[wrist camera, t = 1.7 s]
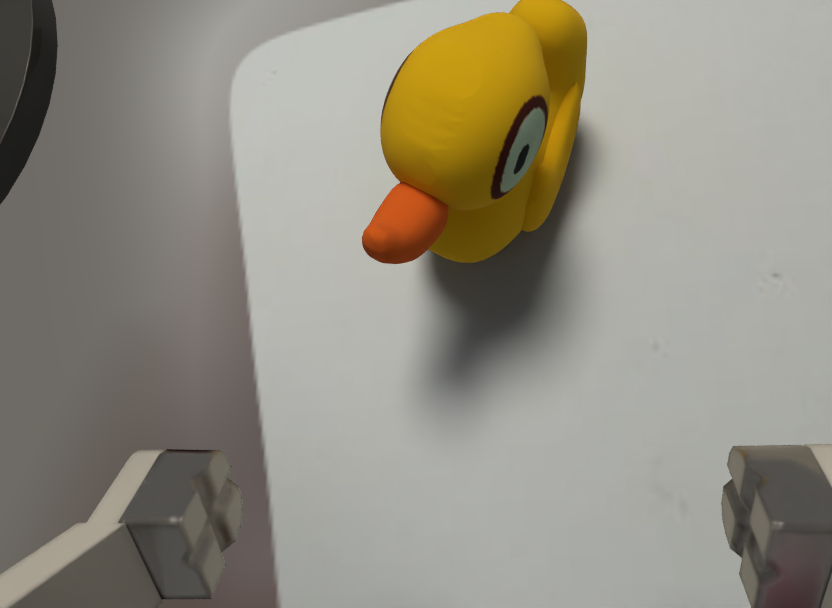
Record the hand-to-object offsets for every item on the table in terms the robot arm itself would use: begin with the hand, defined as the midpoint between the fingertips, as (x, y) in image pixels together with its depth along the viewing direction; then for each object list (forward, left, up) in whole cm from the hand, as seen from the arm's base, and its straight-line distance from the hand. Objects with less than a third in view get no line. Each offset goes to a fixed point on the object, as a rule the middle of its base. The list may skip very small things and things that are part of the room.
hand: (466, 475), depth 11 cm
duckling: (0, +11, -14) cm, 18 cm away
